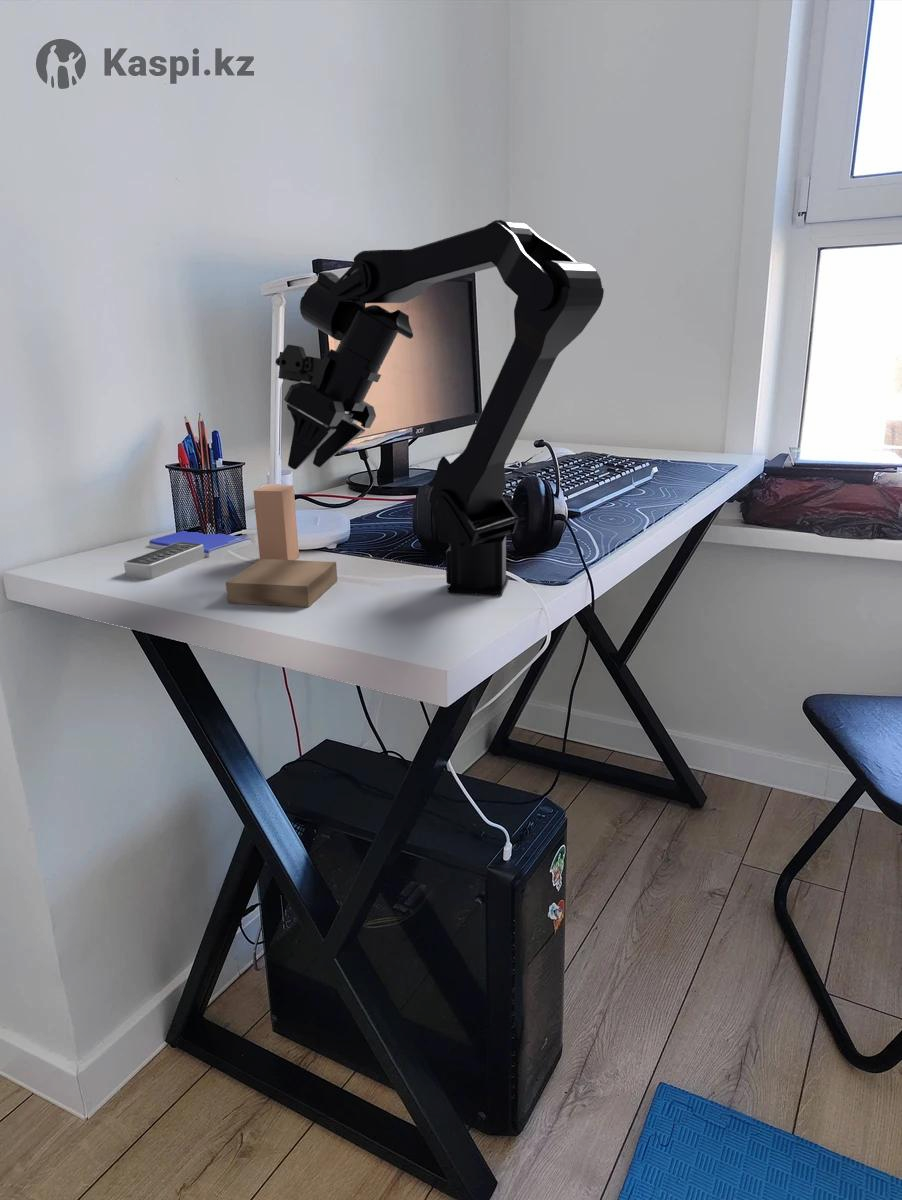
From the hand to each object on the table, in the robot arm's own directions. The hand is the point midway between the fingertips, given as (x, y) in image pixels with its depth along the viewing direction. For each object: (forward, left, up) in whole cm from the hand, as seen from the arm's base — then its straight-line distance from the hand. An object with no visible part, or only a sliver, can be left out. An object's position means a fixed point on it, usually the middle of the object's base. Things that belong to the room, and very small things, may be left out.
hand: (304, 466), depth 109 cm
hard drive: (+21, -9, -14) cm, 26 cm away
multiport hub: (+20, +2, -14) cm, 24 cm away
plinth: (0, +10, -13) cm, 17 cm away
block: (+6, -3, -13) cm, 15 cm away
